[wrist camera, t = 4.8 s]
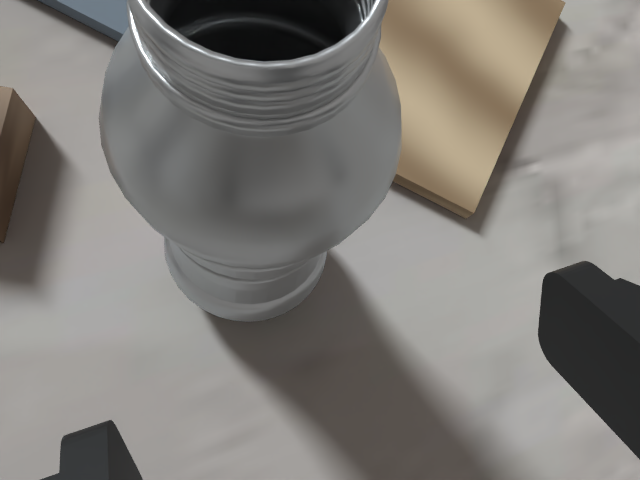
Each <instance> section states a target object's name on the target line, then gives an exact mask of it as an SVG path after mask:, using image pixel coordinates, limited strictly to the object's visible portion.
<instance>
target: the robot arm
mask: <svg viewBox="0 0 640 480" xmlns="http://www.w3.org/2000/svg"><path fill="white" fill-rule="evenodd" d="M538 338H539V343H540V346H541V349H542V351H543V353H544V355H545V357H546V359H547V360H548V361H549V363H550V364H551V365H552V366H553V367H554V368H555V370H556V371H557V372H558V373H559V374H560V375H561V376H562V377H563V378H564V379H565V380H566V381H567V382H568V383H569V384H570V386H571V387H572V388H573V389H574V390H575V391H576V392H577V393H578V394H579V395H580V396H581V397H582V398H583V399H584V400H585V402H586V403H587V404H588V405H589V406H590V407H591V408H592V409H593V410H594V411H595V412H596V413H597V414H598V415H599V416H600V418H601V419H602V420H603V421H604V422H605V423H606V424H607V425H608V426H609V427H610V428H611V429H612V430H613V431H614V432H615V433H616V435H617V436H618V437H619V438H620V439H621V440H622V441H623V442H624V443H625V444H626V445H627V446H628V447H629V448H630V449H631V451H632V452H633V453H634V454H635V455H636V456H637V457H638V458H639V459H640V286H639V285H636V284H634V283H631V282H629V281H626V280H624V279H621V278H619V279H617V280H614V279H612V278H611V277H610V276H608V275H607V274H606V273H605V272H603V271H602V270H601V269H599V268H598V267H597V266H595V265H594V264H592V263H590V262H587V261H582V262H579V263H576V264H573V265H570V266H567V267H564V268H561V269H559V270H556V271H553V272H550V273H547V274H546V275H545V277H544V279H543V284H542V295H541V306H540V317H539V328H538ZM41 480H142V477H141V475H140V473H139V471H138V469H137V467H136V465H135V463H134V461H133V459H132V457H131V455H130V453H129V451H128V449H127V447H126V445H125V443H124V441H123V439H122V437H121V435H120V433H119V431H118V429H117V427H116V425H115V424H114V422H113V421H111V420H109V421H106V422H103V423H100V424H97V425H94V426H91V427H88V428H85V429H82V430H79V431H76V432H73V433H70V434H68V435H65V436H64V437H63V438H62V441H61V451H60V471H59V473H58V474H55V475H52V476H49V477H46V478H44V479H41Z"/></svg>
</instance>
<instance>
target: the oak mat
mask: <svg viewBox="0 0 640 480" xmlns="http://www.w3.org/2000/svg"><path fill="white" fill-rule="evenodd" d="M564 5H565V2H563V1H561V0H389V1H388V5H387V9H386V12H385V15H384V18H383V20H382V23H381V40H380V44H379V48H380V49H381V51H382V52H383V54H384V55H385V57H386V59H387V61H388V64H389V66H390V68H391V70H392V73H393V75H394V77H395V80H396V84H397V89H398V93H399V98H400V103H401V122H402V149H401V153H400V158H399V162H398V167H397V171H396V175H395V177H394V179H393V182H395V183H397V184H399V185H401V186H403V187H405V188H407V189H409V190H411V191H413V192H415V193H417V194H419V195H421V196H422V197H424V198H426V199H428V200H430V201H432V202H434V203H436V204H438V205H440V206H442V207H444V208H446V209H448V210H450V211H452V212H454V213H456V214H458V215H460V216H462V217H464V218H466V219H467V218H468V217H470V216H471V215H472V214H474V212H475V210H476V208H477V205H478V203H479V201H480V198H481V196H482V194H483V191H484V189H485V187H486V185H487V182H488V180H489V178H490V175H491V173H492V171H493V168H494V166H495V164H496V162H497V159H498V157H499V155H500V152H501V150H502V148H503V145H504V143H505V141H506V138H507V136H508V134H509V132H510V129H511V127H512V125H513V122H514V120H515V118H516V115H517V113H518V111H519V109H520V106H521V104H522V102H523V99H524V97H525V95H526V92H527V90H528V88H529V85H530V83H531V81H532V79H533V76H534V74H535V72H536V69H537V67H538V65H539V62H540V60H541V58H542V56H543V53H544V51H545V49H546V46H547V44H548V42H549V39H550V37H551V35H552V32H553V30H554V28H555V26H556V23H557V21H558V19H559V16H560V14H561V12H562V9H563V7H564Z"/></svg>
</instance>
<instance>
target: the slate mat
mask: <svg viewBox="0 0 640 480" xmlns="http://www.w3.org/2000/svg"><path fill="white" fill-rule="evenodd" d="M38 1H40V2H42V3H44V4H46V5H48V6H50V7H52V8H54V9H56V10H58V11H60V12H61V13H63V14H65V15H67V16H69V17H71V18H73V19H75V20H77V21H79V22H81V23H83V24H85V25H87V26H89V27H91V28H93V29H95V30H97V31H99V32H101V33H103V34H105V35H107V36H109V37H111V38H112V39H114V40H116V41H118V42H119V41H120V39H121V38H122V36H123V34H124V33H125V31H126V30H127V28H128V27H129V25H128V16H127V7H126V6H127V0H38Z"/></svg>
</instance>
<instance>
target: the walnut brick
mask: <svg viewBox="0 0 640 480" xmlns="http://www.w3.org/2000/svg"><path fill="white" fill-rule="evenodd" d="M35 119H36V117H35V116H34V114H33V113H32V112H31V110H30V109H29V108H28V107H27V105H26V104H25V103H24V102H23V100H22V99H21V98H20V97H19V95H18V94H17V93H16V91H15V90H14V89H13V88H8V87H2V86H0V243H4V241H5V237H6V233H7V229H8V225H9V221H10V217H11V213H12V209H13V205H14V201H15V197H16V193H17V189H18V186H19V182H20V178H21V174H22V170H23V166H24V162H25V158H26V154H27V150H28V146H29V142H30V138H31V134H32V130H33V126H34V122H35Z"/></svg>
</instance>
